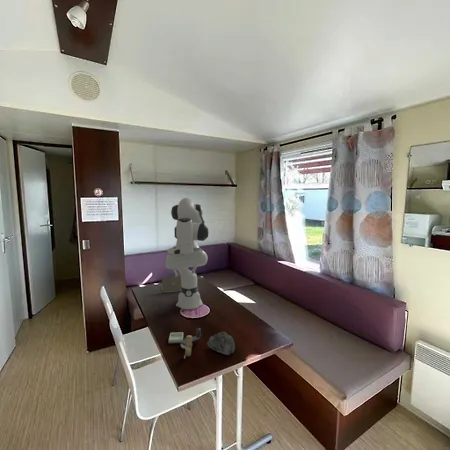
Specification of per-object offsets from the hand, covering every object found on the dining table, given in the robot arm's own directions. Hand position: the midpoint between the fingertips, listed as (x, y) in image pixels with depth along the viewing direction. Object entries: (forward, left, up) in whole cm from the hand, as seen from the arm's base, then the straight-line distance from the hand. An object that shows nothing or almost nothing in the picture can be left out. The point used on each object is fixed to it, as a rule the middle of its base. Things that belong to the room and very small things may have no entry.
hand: (185, 274), depth 135 cm
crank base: (+11, +1, -36) cm, 37 cm away
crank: (+6, +3, -34) cm, 35 cm away
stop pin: (+15, +2, -35) cm, 38 cm away
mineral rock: (+11, +19, -36) cm, 42 cm away
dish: (+1, -5, -36) cm, 36 cm away
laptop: (-75, -17, -36) cm, 85 cm away
